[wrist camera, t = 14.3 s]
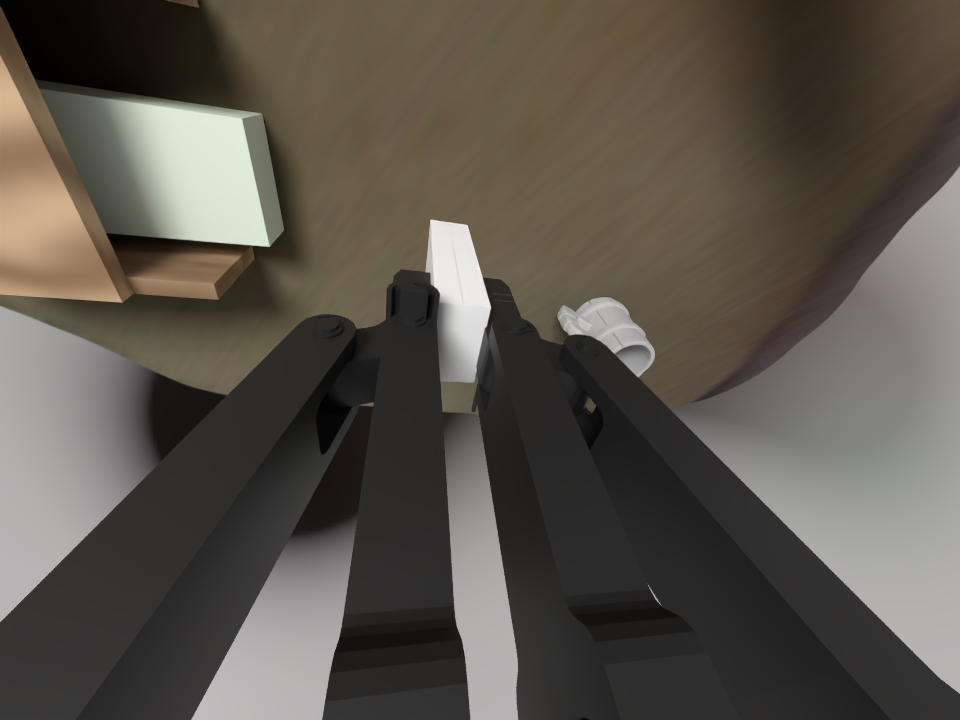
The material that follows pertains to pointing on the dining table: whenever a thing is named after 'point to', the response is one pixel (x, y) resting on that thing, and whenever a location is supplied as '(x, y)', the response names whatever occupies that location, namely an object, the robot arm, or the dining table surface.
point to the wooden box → (81, 216)
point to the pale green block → (169, 165)
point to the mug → (610, 331)
